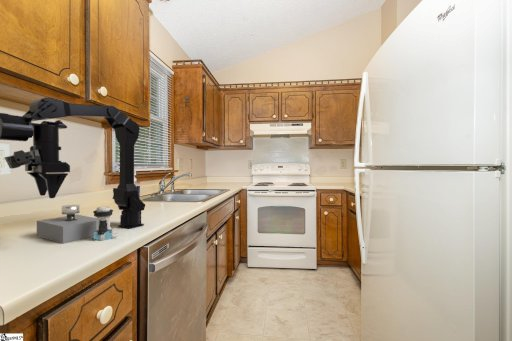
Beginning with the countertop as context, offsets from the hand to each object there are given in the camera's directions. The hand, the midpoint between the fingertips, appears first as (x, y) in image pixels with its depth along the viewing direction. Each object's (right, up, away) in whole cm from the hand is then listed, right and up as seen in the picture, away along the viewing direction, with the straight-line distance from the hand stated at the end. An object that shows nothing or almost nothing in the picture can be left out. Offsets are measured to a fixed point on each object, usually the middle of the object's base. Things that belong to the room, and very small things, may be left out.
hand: (47, 196), depth 73 cm
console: (-1, -14, +10) cm, 17 cm away
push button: (+13, -14, +7) cm, 20 cm away
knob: (-1, -12, +10) cm, 16 cm away
